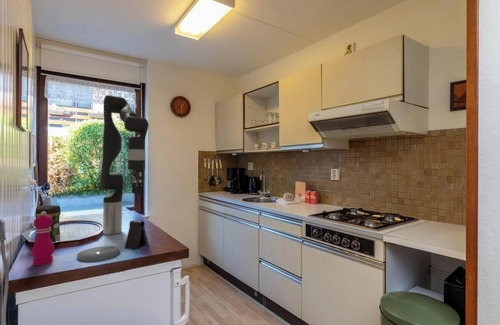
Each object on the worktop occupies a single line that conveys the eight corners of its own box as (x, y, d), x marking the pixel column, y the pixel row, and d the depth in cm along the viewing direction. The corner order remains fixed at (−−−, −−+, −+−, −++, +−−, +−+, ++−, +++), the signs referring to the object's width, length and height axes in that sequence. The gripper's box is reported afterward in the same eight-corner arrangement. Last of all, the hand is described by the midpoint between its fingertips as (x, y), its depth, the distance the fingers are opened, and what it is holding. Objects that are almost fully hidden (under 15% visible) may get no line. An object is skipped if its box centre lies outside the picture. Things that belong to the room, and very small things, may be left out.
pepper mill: (39, 259, 110) (40, 209, 110) (58, 259, 110) (59, 209, 110) (26, 266, 102) (26, 213, 102) (46, 265, 103) (47, 213, 103)
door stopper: (135, 250, 123) (135, 223, 123) (124, 248, 124) (124, 222, 124) (148, 244, 131) (148, 219, 131) (137, 243, 133) (138, 218, 133)
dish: (75, 253, 117) (75, 250, 117) (115, 246, 127) (115, 243, 127) (79, 264, 104) (79, 261, 104) (124, 256, 114) (124, 253, 114)
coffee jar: (30, 246, 126) (31, 206, 126) (44, 241, 134) (45, 203, 134) (51, 246, 126) (51, 206, 125) (63, 241, 133) (64, 204, 133)
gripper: (124, 159, 132) (124, 193, 132) (131, 159, 120) (131, 195, 120) (141, 159, 136) (141, 192, 136) (149, 159, 125) (149, 194, 124)
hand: (136, 193), depth 128 cm, fingers open, 8 cm apart
